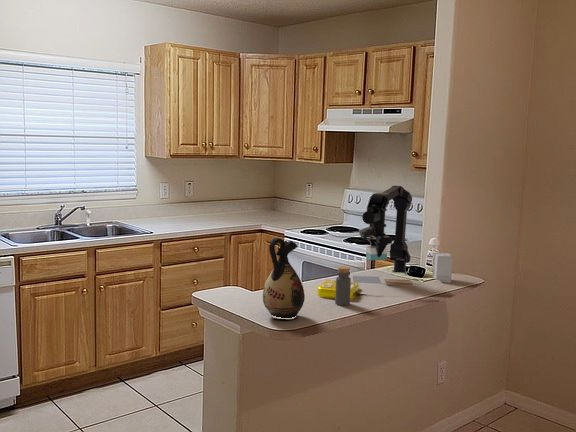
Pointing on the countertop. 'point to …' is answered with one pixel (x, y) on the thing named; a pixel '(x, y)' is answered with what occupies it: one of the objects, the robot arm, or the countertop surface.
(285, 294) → the ceramic jug
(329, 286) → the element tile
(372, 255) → the block
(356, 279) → the slate stand
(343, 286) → the bottle
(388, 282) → the walnut stand
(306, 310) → the countertop surface
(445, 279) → the supplement box
